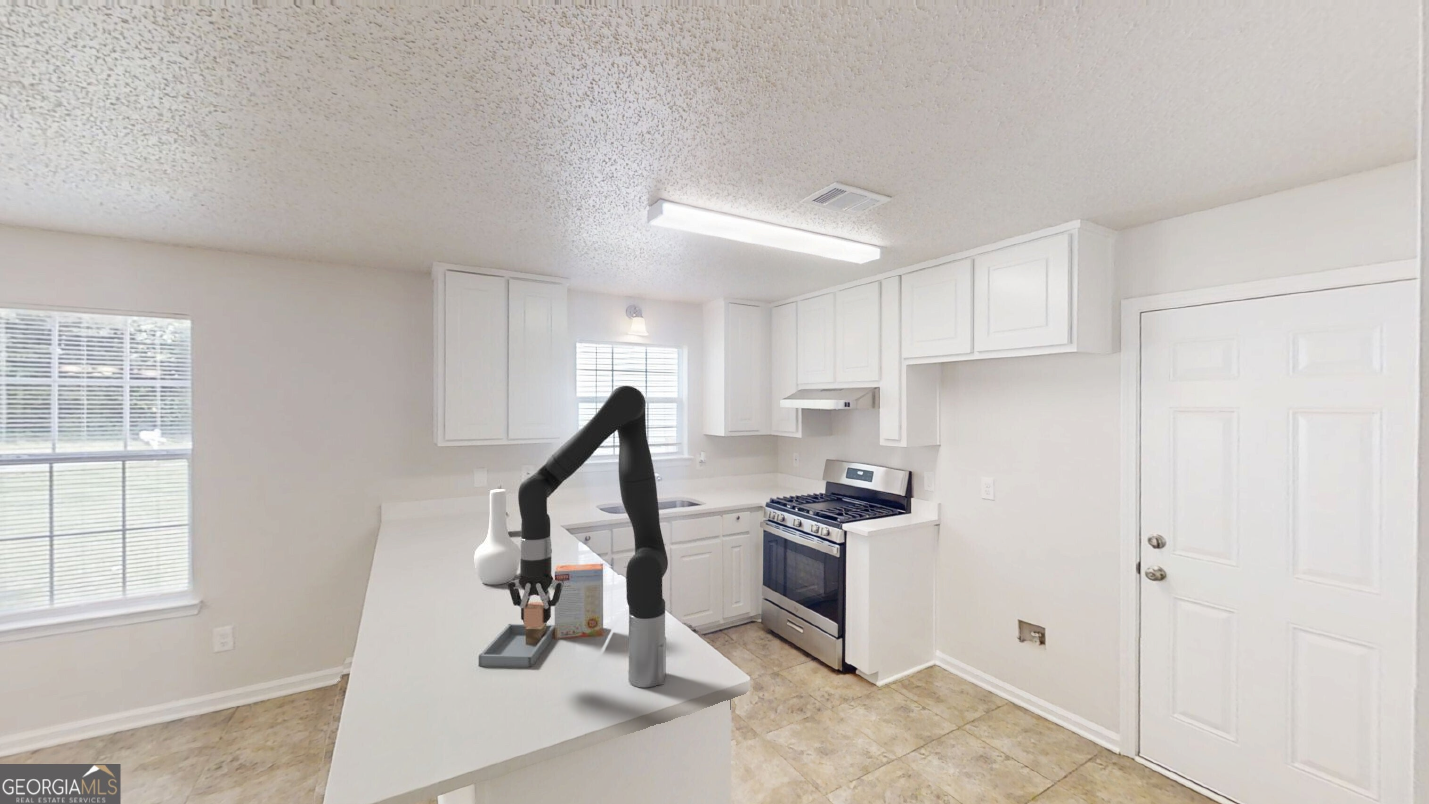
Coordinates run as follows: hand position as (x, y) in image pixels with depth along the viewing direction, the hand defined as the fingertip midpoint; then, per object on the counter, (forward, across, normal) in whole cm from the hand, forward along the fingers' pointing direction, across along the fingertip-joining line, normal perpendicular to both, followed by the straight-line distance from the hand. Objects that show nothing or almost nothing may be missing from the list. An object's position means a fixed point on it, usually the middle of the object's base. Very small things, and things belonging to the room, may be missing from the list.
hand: (536, 621), depth 138 cm
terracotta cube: (0, 0, 0) cm, 0 cm away
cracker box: (+15, +4, +26) cm, 30 cm away
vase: (+15, -41, +73) cm, 85 cm away
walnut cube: (+14, -7, +20) cm, 26 cm away
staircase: (+15, -70, +139) cm, 156 cm away
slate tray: (+15, -10, +15) cm, 24 cm away
